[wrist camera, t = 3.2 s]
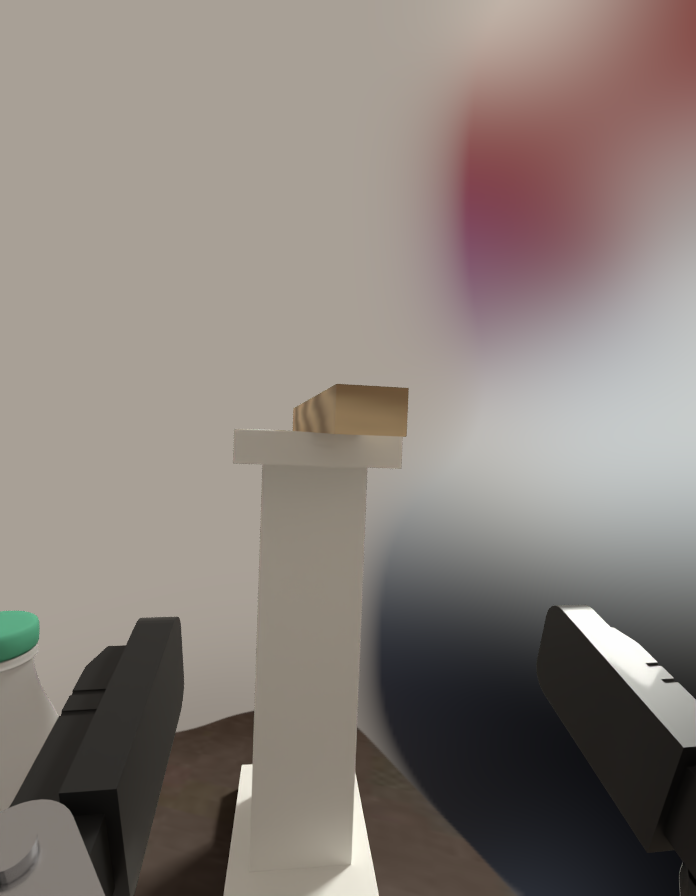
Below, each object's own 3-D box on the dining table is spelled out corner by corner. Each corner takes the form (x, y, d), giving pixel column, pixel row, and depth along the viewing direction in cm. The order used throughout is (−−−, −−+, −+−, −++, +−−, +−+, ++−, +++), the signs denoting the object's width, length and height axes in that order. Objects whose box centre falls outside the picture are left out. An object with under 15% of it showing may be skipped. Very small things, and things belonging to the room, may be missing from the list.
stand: (380, 944, 30) (402, 435, 29) (217, 959, 29) (234, 429, 28) (351, 781, 44) (365, 433, 43) (241, 786, 43) (252, 429, 41)
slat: (406, 436, 20) (408, 388, 20) (334, 434, 19) (336, 383, 19) (325, 432, 43) (326, 410, 43) (292, 430, 43) (293, 408, 43)
